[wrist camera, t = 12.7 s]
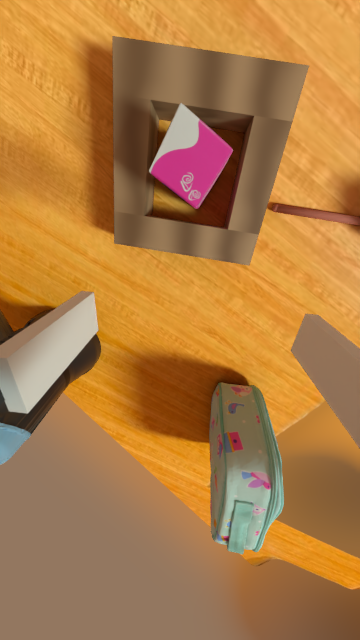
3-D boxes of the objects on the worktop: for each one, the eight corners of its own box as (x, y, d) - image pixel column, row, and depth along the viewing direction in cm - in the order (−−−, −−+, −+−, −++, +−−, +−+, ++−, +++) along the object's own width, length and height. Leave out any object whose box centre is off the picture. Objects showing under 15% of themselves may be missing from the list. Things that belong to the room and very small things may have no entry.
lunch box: (245, 450, 55) (269, 573, 36) (207, 447, 56) (211, 566, 37) (260, 374, 43) (308, 500, 24) (211, 372, 44) (220, 492, 25)
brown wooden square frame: (125, 239, 33) (114, 243, 28) (128, 68, 24) (112, 36, 20) (242, 258, 33) (249, 265, 28) (288, 93, 24) (309, 65, 19)
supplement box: (164, 185, 29) (145, 169, 19) (188, 140, 27) (181, 94, 16) (197, 211, 30) (195, 209, 20) (223, 170, 28) (236, 145, 18)
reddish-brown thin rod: (270, 211, 29) (272, 211, 28) (272, 203, 29) (274, 203, 28) (360, 225, 29) (365, 226, 28) (364, 218, 29) (369, 218, 28)
